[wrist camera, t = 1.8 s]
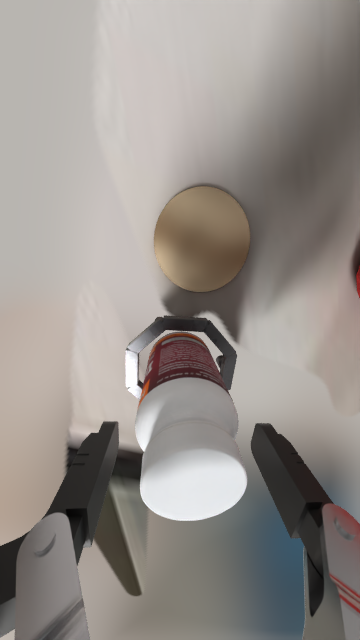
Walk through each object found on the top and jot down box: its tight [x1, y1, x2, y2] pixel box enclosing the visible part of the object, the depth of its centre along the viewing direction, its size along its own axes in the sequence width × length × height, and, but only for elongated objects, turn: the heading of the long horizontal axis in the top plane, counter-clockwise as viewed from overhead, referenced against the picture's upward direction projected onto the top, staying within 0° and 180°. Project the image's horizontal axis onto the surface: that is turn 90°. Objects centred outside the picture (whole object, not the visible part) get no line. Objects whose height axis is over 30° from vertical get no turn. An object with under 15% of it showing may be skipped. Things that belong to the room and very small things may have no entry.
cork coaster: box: [154, 186, 250, 292], centre depth 14 cm, size 8×8×1 cm
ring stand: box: [126, 316, 237, 400], centre depth 17 cm, size 10×10×2 cm
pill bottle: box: [135, 332, 247, 521], centre depth 13 cm, size 6×6×11 cm
